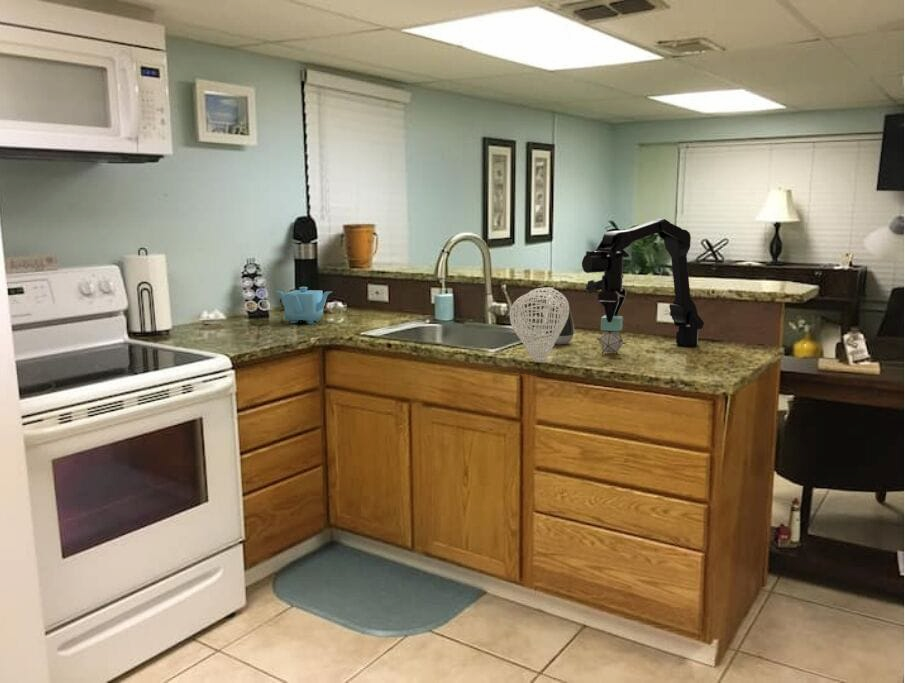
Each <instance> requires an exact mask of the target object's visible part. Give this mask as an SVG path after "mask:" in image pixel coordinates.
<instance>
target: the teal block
mask: <svg viewBox="0 0 905 683" xmlns="http://www.w3.org/2000/svg"><path fill="white" fill-rule="evenodd" d="M623 323H624V316H623V315H617V316H613V319H612V321H611V322H607V317H606V314H605V315H603V316H601V318H600V331H605V330H607V331H620V330H622V329H623V328H624V326H623ZM620 332H621V331H620Z"/></svg>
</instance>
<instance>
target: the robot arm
mask: <svg viewBox="0 0 905 683" xmlns="http://www.w3.org/2000/svg"><path fill="white" fill-rule="evenodd" d="M656 234H657V236H658V237H659V238H660V239H661V240H663V241H664V246H665V249H666V251H667V253H668V254H669V255H670V258H671V267H672V268H671V270H672V279H673V289H674V301H673V302H672V303H670V304H669V305H668V306H669V310H670V311H669V316H670V317H671V319H672V321H673V323H674V326H675V327H678V330H677V331H676V336H675V337H676V338H675V339H676V340H675V343H676V346H678V347H689V348H690V347H694V348H697V347H698V346H699V342H698V341H699V340H698V338H699V330H702V329H703V328H704V325H705V322H704V320H703V319H702V318H701V317H700V316H699V314H698V309H697V306H696V303H695V302H694V300H693V299H692V297H691V289H690V280H689V279H690V277H689V266H688V258H687V256H688V253H689V251H690V248H691V243H692V242H691V240H692V237H691V234H690V232H689V231H688V230H687V229H683V228H681V227H679V226H678V225H675V224H673V223H671V222H670V221H669V220H668V219H664V218H655V219H652V220H651V221H647V222H646V223H645V222H644V223H643V224H639V225H637V226H633V227H630V228H627V229H624V230H623V229H622V230H614V231H613V230H612V231H611V230H610V231H607V232H605V233H604V234H603V236H602V239H601V241H600V242H599V244H598V246H597V247H596V249H595V251H593V250H587V251H586V252H585V255H584V256H583V258H582V261H581V267H582V270H583V272H584V273H586V274H589V273H594V274H595V273H596V274H597V273H603V275H602V276H601V279H599V280H596V281H595V280H594V279H591V280H588V281H587V284H586V285H585V290H586V291H587V293H588V295H591V294H593V293H595V292H598V293H597V301H598V302H599V304H601V305H602V306H603V308H604V313H605V315H606V317H607V322H611V321H612V319H613V316H619V315H618V314H619V312H620V310H621V308H622V306H623V304H624V301H625V299H626V296H627V294H628V289H627V288H626V287H625V286H623V278H624V276H625V275H624V274H623V267H624V258H629V257H630V255H629V253H627V252H626V251H625V249H627V248H628V247H630V246H631V245H632V243H634V242H636V241H639V240H642V239H645V238H648V237H650V236H653V235H656ZM599 291H600V292H599ZM697 345H698V346H697Z"/></svg>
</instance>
